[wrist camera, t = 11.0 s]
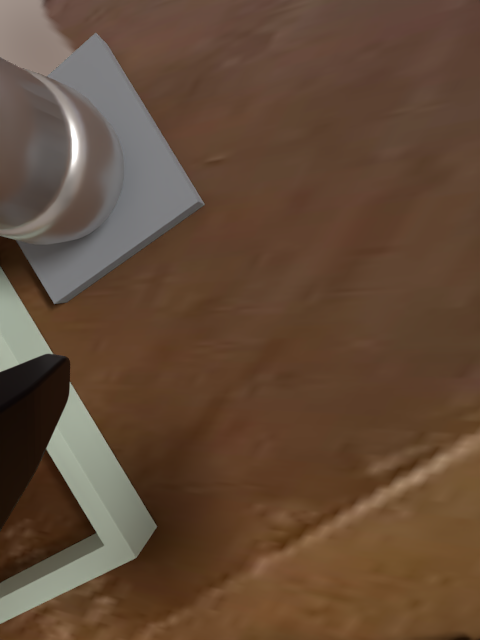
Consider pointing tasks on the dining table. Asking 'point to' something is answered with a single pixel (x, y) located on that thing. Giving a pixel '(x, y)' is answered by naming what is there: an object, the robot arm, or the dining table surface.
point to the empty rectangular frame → (72, 483)
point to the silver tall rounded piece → (53, 160)
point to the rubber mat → (138, 185)
